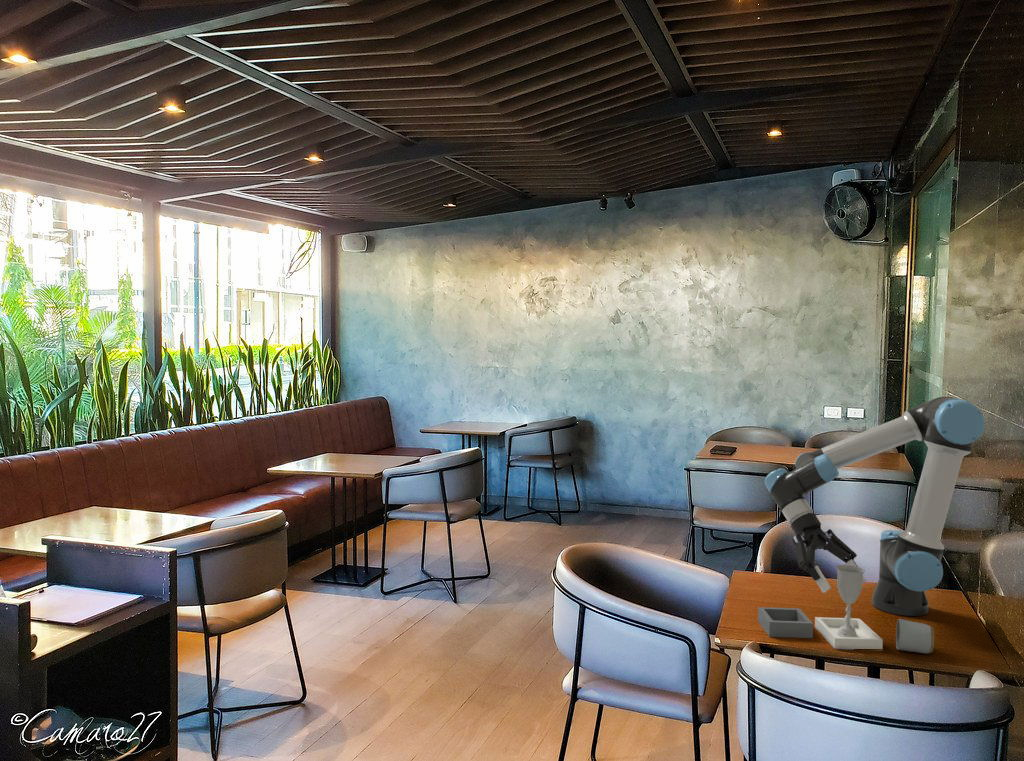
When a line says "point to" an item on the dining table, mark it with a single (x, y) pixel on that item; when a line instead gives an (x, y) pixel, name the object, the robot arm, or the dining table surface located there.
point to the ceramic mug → (914, 636)
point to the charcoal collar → (785, 622)
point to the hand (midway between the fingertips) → (844, 586)
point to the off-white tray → (863, 641)
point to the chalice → (849, 593)
